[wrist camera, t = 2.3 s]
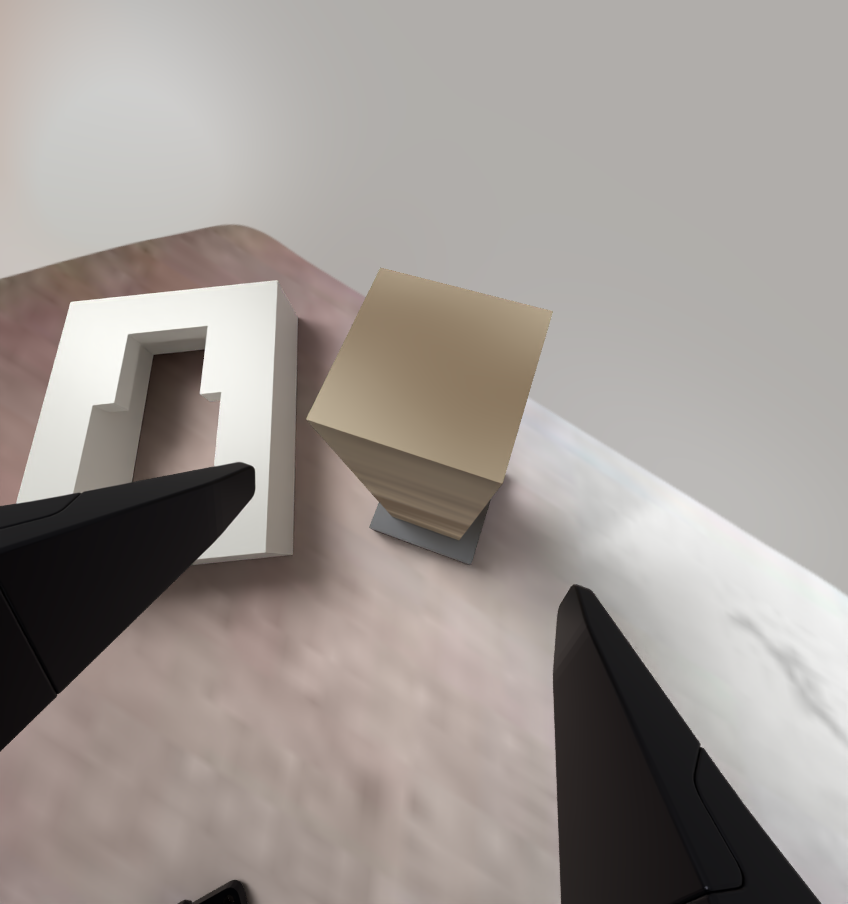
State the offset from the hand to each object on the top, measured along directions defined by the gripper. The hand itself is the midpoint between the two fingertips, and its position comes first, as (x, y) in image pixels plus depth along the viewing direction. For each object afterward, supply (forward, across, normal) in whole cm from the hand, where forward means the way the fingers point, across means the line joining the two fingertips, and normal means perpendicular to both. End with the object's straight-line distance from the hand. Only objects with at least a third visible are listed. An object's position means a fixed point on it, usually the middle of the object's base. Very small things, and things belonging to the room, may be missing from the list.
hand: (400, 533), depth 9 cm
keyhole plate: (+10, +17, +7) cm, 21 cm away
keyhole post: (+11, 0, +6) cm, 12 cm away
